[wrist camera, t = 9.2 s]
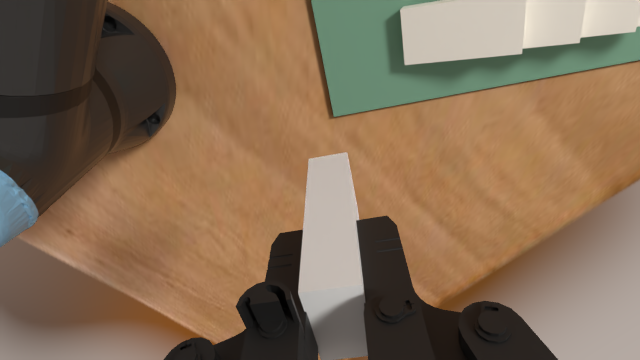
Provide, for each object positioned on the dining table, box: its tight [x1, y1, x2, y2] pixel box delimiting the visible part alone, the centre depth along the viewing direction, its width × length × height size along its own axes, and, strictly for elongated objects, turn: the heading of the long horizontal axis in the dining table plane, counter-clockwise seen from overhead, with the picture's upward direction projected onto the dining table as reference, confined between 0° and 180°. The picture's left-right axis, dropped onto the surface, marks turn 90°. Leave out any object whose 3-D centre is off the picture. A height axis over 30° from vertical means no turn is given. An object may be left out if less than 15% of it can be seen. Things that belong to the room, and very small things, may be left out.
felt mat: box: [311, 0, 640, 117], centre depth 34 cm, size 34×14×1 cm, turn 102°
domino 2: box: [523, 0, 586, 49], centre depth 32 cm, size 2×5×10 cm
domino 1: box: [400, 0, 527, 65], centre depth 33 cm, size 2×5×10 cm
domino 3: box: [580, 0, 640, 38], centre depth 31 cm, size 2×5×10 cm
